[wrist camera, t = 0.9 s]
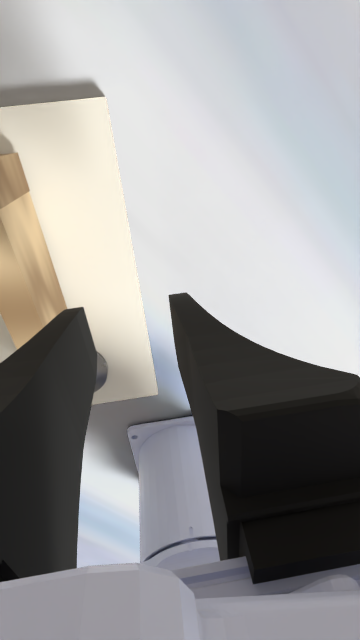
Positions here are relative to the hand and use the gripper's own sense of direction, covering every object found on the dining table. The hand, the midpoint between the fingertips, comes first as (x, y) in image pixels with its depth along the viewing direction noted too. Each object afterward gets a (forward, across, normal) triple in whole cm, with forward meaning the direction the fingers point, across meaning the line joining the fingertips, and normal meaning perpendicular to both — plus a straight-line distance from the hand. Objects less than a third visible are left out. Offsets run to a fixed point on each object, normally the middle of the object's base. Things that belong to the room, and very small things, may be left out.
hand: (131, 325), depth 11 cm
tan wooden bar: (+7, +5, 0) cm, 9 cm away
